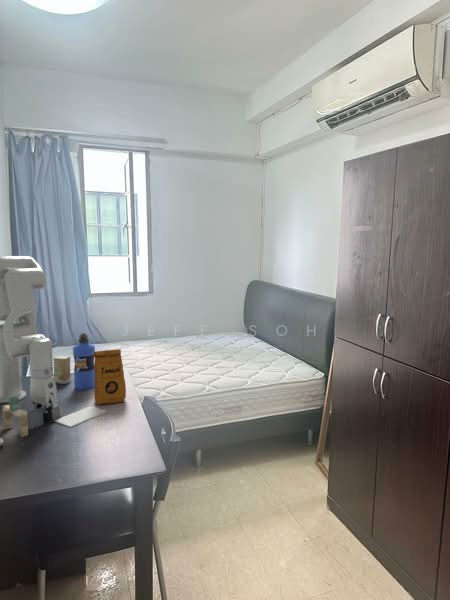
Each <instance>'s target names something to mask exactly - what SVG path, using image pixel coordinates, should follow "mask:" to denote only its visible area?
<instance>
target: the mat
mask: <svg viewBox="0 0 450 600" xmlns="http://www.w3.org/2000/svg"><path fill="white" fill-rule="evenodd" d="M105 413H107V412H106V410H103V409H100V408H97V407H94V406H88V407H85V408H83V409H80V410H77V411H75V412H72V413H70V414H67V415H65V416H62V417H61V418H59V419H56V420H54V422H55V423H57V424H60V425H63V426H65V427H67V428H72V427H75V426H78V425H80V424H82V423H84V422H87V421H89V420H92V419H95V418H96V417H99V416H101V415H103V414H105Z"/></svg>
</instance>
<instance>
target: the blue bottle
mask: <svg viewBox="0 0 450 600" xmlns="http://www.w3.org/2000/svg"><path fill="white" fill-rule="evenodd" d="M88 337H89V335H88V334H86V333H81V334H80V335H79V336H78V344H77V345H74V346H73V347H72V356H73V359H74V368H73V376H74V390H75V391H77V392H88V391H91V390H94V387H95V372H94V367H95V364H94V363H95V357H94V352H95V350H96V346H95V345H94V344H91V343H90V341H89V340H90V339H89V338H88Z"/></svg>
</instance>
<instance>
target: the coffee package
mask: <svg viewBox="0 0 450 600" xmlns="http://www.w3.org/2000/svg"><path fill="white" fill-rule="evenodd" d="M121 351H122V349H121V348H118V349H109V350H108V349H107V350H96V351H95V352H94V366H95V367H94V372H95V387H94V389H93V391H94V393H93V394H94V397H93V399H94V402H95V404H97V405H106V404H117V403H123V402H125V399H126V398H127V394H126V393H127V390H126V389H127V387H126V385H127V384H126V380H125V371H124V366H123V361H122V353H121Z"/></svg>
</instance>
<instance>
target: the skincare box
mask: <svg viewBox="0 0 450 600" xmlns="http://www.w3.org/2000/svg"><path fill="white" fill-rule="evenodd" d="M53 376H54V378H55V383H56V384H63V385H66V384H68V383H70V382H71V356H65V355H57V356H55V357H53Z"/></svg>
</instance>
